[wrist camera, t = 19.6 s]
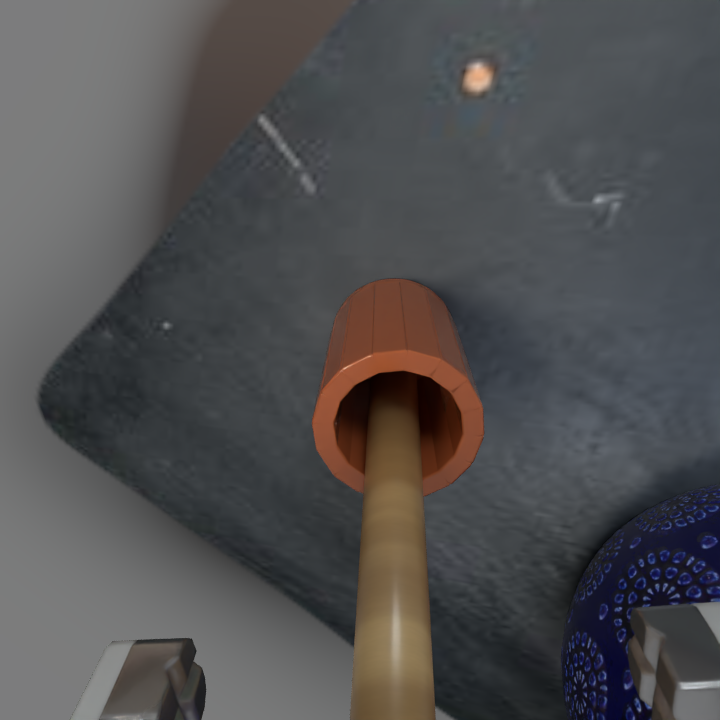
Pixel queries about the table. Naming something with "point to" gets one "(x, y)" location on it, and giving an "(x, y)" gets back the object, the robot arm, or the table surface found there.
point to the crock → (388, 354)
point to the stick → (393, 563)
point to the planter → (636, 599)
